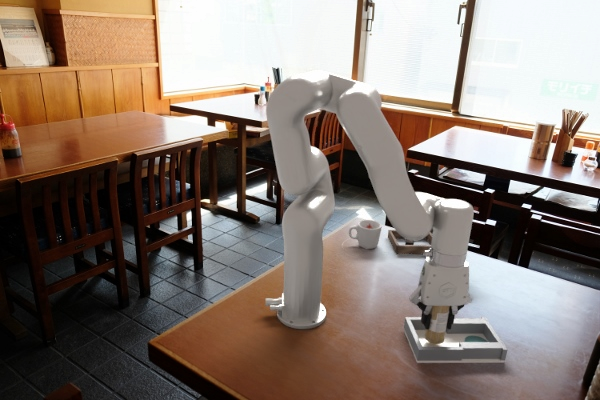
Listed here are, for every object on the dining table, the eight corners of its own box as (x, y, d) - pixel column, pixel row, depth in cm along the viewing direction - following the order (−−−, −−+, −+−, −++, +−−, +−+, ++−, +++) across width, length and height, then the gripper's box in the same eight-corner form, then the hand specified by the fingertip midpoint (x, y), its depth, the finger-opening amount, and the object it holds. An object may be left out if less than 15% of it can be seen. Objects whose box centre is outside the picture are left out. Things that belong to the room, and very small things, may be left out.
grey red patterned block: (404, 251, 153) (405, 243, 152) (405, 242, 159) (406, 234, 158) (418, 253, 152) (419, 245, 151) (418, 244, 158) (420, 236, 157)
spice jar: (421, 333, 109) (428, 284, 104) (440, 332, 109) (448, 283, 105) (428, 345, 105) (436, 295, 100) (447, 344, 105) (456, 294, 100)
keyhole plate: (417, 362, 102) (419, 349, 101) (403, 329, 113) (405, 317, 112) (504, 362, 103) (507, 349, 102) (482, 329, 114) (485, 317, 113)
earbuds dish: (396, 254, 151) (397, 246, 149) (387, 237, 162) (388, 229, 161) (439, 254, 151) (441, 246, 150) (428, 237, 163) (429, 230, 162)
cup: (346, 249, 153) (348, 227, 150) (348, 238, 160) (350, 217, 158) (379, 252, 152) (381, 230, 149) (379, 241, 159) (381, 220, 156)
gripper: (414, 263, 95) (404, 336, 102) (493, 264, 96) (478, 336, 103) (404, 247, 102) (396, 316, 109) (478, 247, 103) (465, 316, 110)
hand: (436, 325), depth 106 cm, fingers closed on spice jar, 4 cm apart
